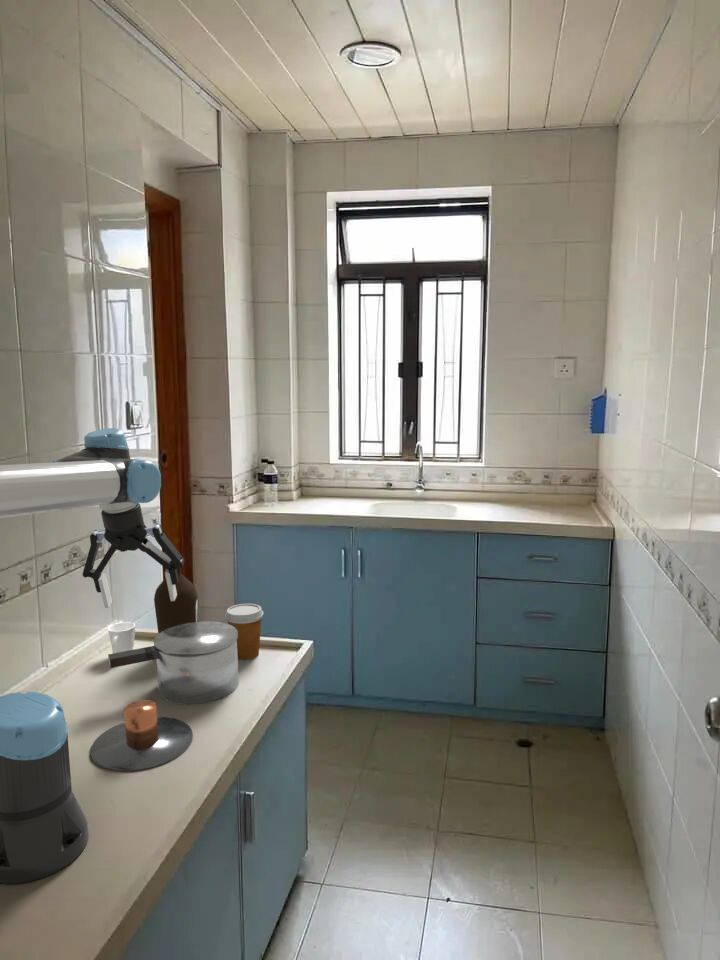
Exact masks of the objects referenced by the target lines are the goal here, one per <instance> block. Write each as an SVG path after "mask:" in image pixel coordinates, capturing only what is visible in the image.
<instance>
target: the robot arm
mask: <svg viewBox="0 0 720 960" xmlns="http://www.w3.org/2000/svg"><path fill="white" fill-rule="evenodd" d="M83 441H84V444H83V446H84V448H82V449H81V450H79V451H76V452H74V453H72V454H69V455H67V456H64V457H61V458H59V459H56V460H55V459H53V460H52V461H51V462H39V463H38V462H37V463H35V462H34V463H16V464H15V463H14V464H0V519H5V518H11V517H20V516H27V515H28V516H29V515H34V514H40V513H41V514H42V513H43V514H44V513H50V512H57V511H64V510H72V509H78V508H79V509H80V508H86V507H87V508H88V507H94V506H98V507H99V509H100V510H101V513H100V514H101V519H102V522H103V527H104V530H105V531H100V530H99V529H95V530H93V531H92V532H91V533H90V535H89V541H90V546H89V549H88V554H87V556H86V561H85V564H84V567H83V570H82V577H83V578H84V579H85V578H91V579H93V582H94V587H95V590H96V592H97V593H101V597H102V601H103V605H104V609H108V608H110V606H111V605H112V603H113V598H112V594H111V590H110V586H109V580H108V577H107V573H102V572H103V571H104V569H105V568H106V566H107V565H108V564H109V562H110V560H111V559H112V557H113V556H114V554H115V552H116V551H119V552H121V553H123V552H127V551H134V552H135V551H137V550H140V551H141V552H143V553H146V554H147V555H148V556H149V557H151V558H152V559H153V560H155V561H156V562H157V563H159V564H160V565H161V566H162V567H163V568H164V569H165V571H164V577H165V578H166V581H167V585H168V590H169V595H170V600H171V601H175V599H176V596H177V591H176V586H175V584H177V583H178V580H179V578H178V573H177V568H181V569H182V567H183V565H184V563H185V558H184V557H183V556H182V554H181V553H180V552H179V550H178V549H177V548H176V546H174V544H173V543H172V542H171V539H169V538H168V537H167V535H166V534H165V533H164V530H163V528H162V524H161V523H159V522H157V523H155V524H154V525H152V526H146V525H145V522H144V516H143V512H142V508H141V507H142V506H141V504H147V503H150V502H152V501H154V500H155V499H156V498H157V496H158V495H159V493H160V491H161V487H162V474H161V471H160V468H159V467H158V466H157V464H155V463H154V462H153V461H150V460H147V459H140V458H131V456H130V455H131V454H130V447H129V446H128V442H127V439H126V436H125V433H124V431H123V430H122V429H119V428H114V427H113V428H102V429H96V430H92V431H90V432H88V433H87V434H85V436H84V438H83ZM148 534H149V535H150V536H151V537H152V538H154V539H155V541H156V542H157V544H158V545H159V547H160V548H161V549H162V550H163V551H164V552H163V551H162V550H161V549H159V547H158V546H156V545H154V544H153V543H152V541H151V540H150V539H149V538H148V537H147V535H148ZM104 539H105V540H106V541H107V542H108V543H109V544H110V547H109V548H108V550H107V551H106V553H105V554H104V556H103V558H101V560H100V563H99V565H98V566H97V567H96V569H94V565H95V563H96V558H97V555H98V553H99V548H100V544H101V543H102V542H103V541H104ZM65 718H66V717H65V712H64V709H63V706H62V704H61V703H60V702H59V701H58V700H57V699H56V698H54V697H53V696H50V695H49V694H45V693H44V692H43V693H42V692H37V691H27V692H25V693H21V692H20V691H18V692H11V693H8V694H4V695H1V696H0V883H1V884H7V885H8V884H11V885H12V884H23V883H28V882H33V881H37V880H39V879H43V878H45V877H48V876H51V875H52V874H54V873H57V872H59V871H60V870H62V869H64V868H65V867H66V866H68V865H69V864H71V863H72V862H74V861H75V860H76V859H77V858H78V857H79V856H80V855H81V854H82V852H83V851H84V849H86V847H87V844H88V841H89V827H88V821H87V817H86V815H85V814H84V812H83V810H82V808H81V805H80V804H79V801H78V799H77V798H76V795H75V794H74V792H73V789H72V788H73V787H72V776H71V763H70V750H69V739H68V737H69V735H68V733H69V732H68V723H67V722H66V719H65Z"/></svg>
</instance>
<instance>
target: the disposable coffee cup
mask: <svg viewBox="0 0 720 960" xmlns="http://www.w3.org/2000/svg"><path fill="white" fill-rule="evenodd" d="M224 616H225V619H226V621H227V624H229V625H231V626H233V627H235V628H236V629H237V632H238V638H237V655H238V660H250V659H253V658H256V657H257V656H259V654H260V643H261V642H260V641H261V640H260V639H261V631H262V630H261V629H262V618H263V616H264V610H263V609H262V607H261V605H258V604H255V603H241V604H239V603H238V604H236V605H232V606H230V607H228V608H227V610H226V612H225V615H224Z"/></svg>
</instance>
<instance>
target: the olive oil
mask: <svg viewBox="0 0 720 960" xmlns="http://www.w3.org/2000/svg"><path fill="white" fill-rule="evenodd" d="M177 573H178V578H179V580H178V583H177V584H175V586H176V591H177V596H176V599H175V601H171V600H170V595H169V590H168V585H167V581H166V577H165V578H164V579H163V580H162V581H161V582H160V584H159V585H157V588H156V589H155V592H154V597H153V601H154V602H153V603H154V610H155V611H154V612H155V618H156V626H157V635H158V634H159V633H160V632H162V631H164V630H166V629H168V628H171V627H174V626H177V625H181V624H186V623H192V622H199V616H198V615H199V607H198V606H199V600H198V599H199V598H198V591H197V589H196V587H195V585H194V584H193V583H192V582H191V581H190V580H189V579H188V578H186V577H185V576H184V575H183V574H182V567H181V568H177Z"/></svg>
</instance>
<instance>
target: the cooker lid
mask: <svg viewBox="0 0 720 960" xmlns="http://www.w3.org/2000/svg"><path fill="white" fill-rule="evenodd" d="M123 714H124V715H123V716H124V722H123V723H122V722H121V723H120V724H117V725H115V726H114V725H113V727H110V728H108V729H107V730H105V731H104V732H102V733H101V734H100V735H99V736H98V737H97V738H96V739H95V740H94V741H93V742H92V745H91V746H90V747H91V748H90V755H91V759H92V761H93V762H94V763H95V764H96V765H98V766H99V767H101V768H104V769H105V770H109V771H116V772H137V771H142V770H148V769H153V768H155V767H159V766H161V765H164V764H167V763H169V762H171V761H174V760H175V759H176V758H178V757H180V756H181V755H182V754H184V753H185V752H186V751H187V750H188V749H189V747H190V746H191V745H192V742H193V738H194V737H193V730H192V728H191V726H190V725H189V724H188V723H186V722H184V721H183V720H181V719H177V718H173V717H168V716H158V711H157V702H155V701H154V700H150V699H139V700H136V701H132V702H129V703H128V704H126V705H125V706H124V708H123Z"/></svg>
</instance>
